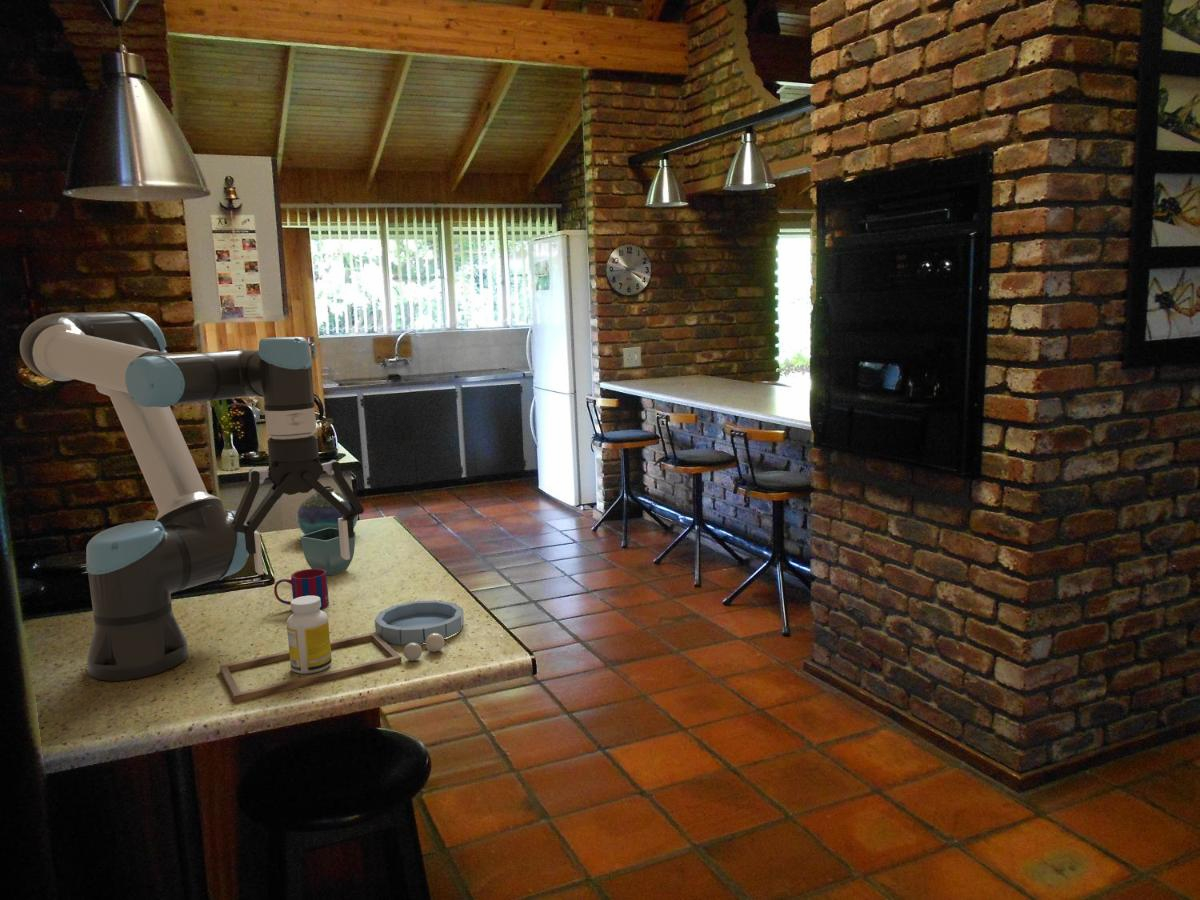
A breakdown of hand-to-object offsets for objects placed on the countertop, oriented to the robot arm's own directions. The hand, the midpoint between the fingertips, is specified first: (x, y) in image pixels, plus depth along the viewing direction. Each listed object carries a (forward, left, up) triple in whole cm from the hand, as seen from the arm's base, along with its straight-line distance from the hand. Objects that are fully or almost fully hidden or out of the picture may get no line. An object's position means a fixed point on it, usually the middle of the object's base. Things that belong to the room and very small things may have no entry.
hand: (303, 565), depth 143 cm
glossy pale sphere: (+15, -7, -17) cm, 24 cm away
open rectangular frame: (0, 0, -17) cm, 17 cm away
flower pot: (+17, +53, -18) cm, 58 cm away
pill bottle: (0, 0, -18) cm, 18 cm away
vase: (+25, +85, -18) cm, 90 cm away
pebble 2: (+19, -5, -17) cm, 27 cm away
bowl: (+21, +6, -17) cm, 28 cm away
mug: (+6, +32, -18) cm, 37 cm away
